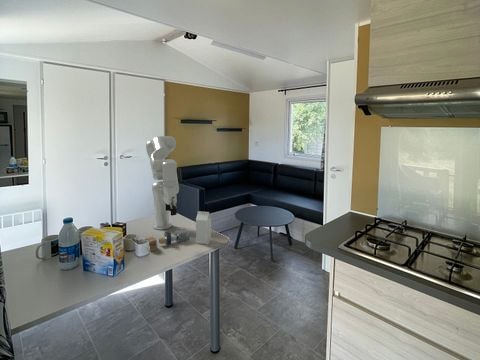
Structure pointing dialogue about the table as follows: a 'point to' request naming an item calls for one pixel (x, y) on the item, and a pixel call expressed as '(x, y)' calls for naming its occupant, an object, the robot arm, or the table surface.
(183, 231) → the sleeve
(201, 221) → the milk carton
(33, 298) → the table surface
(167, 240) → the tube
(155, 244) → the socket block
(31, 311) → the table surface
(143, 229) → the table surface
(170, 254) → the table surface
